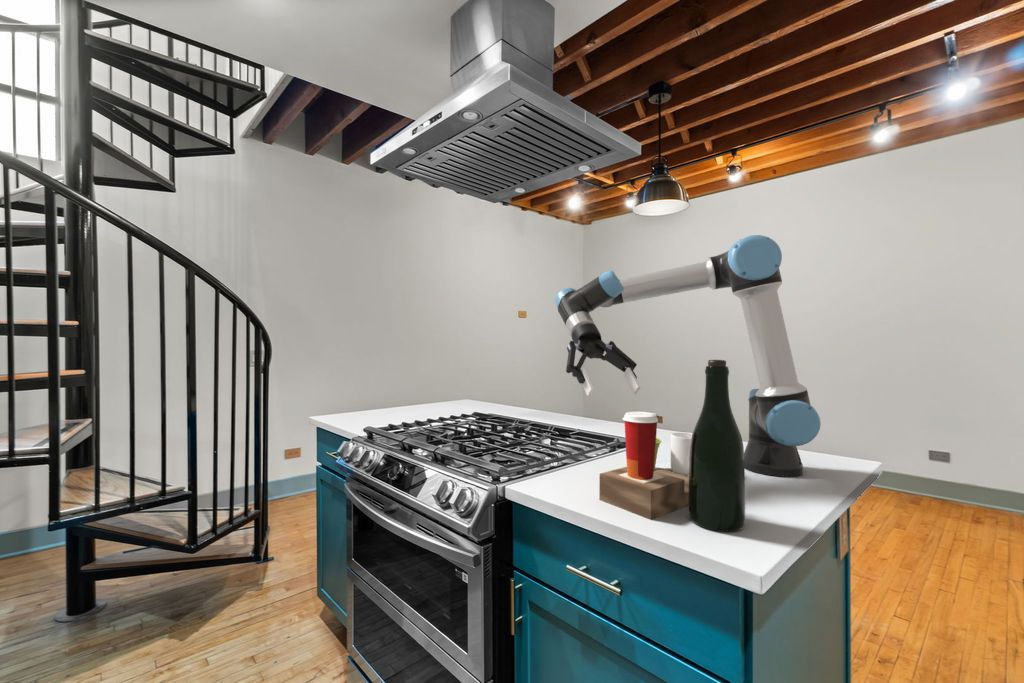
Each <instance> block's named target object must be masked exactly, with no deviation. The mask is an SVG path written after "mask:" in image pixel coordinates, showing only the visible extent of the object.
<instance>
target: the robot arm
mask: <svg viewBox="0 0 1024 683" xmlns="http://www.w3.org/2000/svg"><path fill="white" fill-rule="evenodd" d="M782 258H783V255H782V250H781V247H780V246H779V244H778V243H777V242H776V241H775V240H774V239H773V238H770V237H769V236H766V235H761V234H752V235H749V236H748V235H747V236H745V237H743V238H741V239H739V240H737V241H736V242H734V243H733V244H732V245H731V247H730V248H729V249H728V250H727V251H725V252H723V253H720V254H717V255H714V256H710V257H707V258H706V259H705V260H704V261H703V262H698V263H693V264H689V265H688V264H687V265H684V266H683V265H682V266H678V267H673V268H669V269H663V270H659V271H653V272H650V273H645V274H644V273H643V274H639V275H634V276H629V277H625V278H618V276H617V275H616V273H615V272H614V270H611V269H608V270H607V271H606V272H603V273H601V274H599V275H598V276H597V277H595V278H594V279H592V280H591V281H589V282H588V283H586V284H585V285H583V286H582V287H580V288H578V289H577V290H576V289H575V288H573V287H567V288H563V289H561V290H560V291H558V292H557V294H556V296H555V299H554V304H555V307H556V308H557V311H558V314H559V315H560V318H561V319H562V322H563V323H564V326H565V327H566V329H567V331H568V333H569V335H570V337H571V340H570V341H569V343H568V345H567V346H566V347H567V348H566V349H567V353H568V355H567V361H566V367H565V371H566V373H567V374H570V373H572V375H571V376H572V377H574V378H576V379H577V382H578V383H579V384H580V385H581V386H582V388H583V389H584V392H585V394H586V396H587V397H590V396H592V393H593V392H594V390H595V387H594V386H593V383H592V381H591V379H590V378H589V375H588V373H587V371H586V369H585V368H582V367H583V365H584V363H585V361H586V359H587V358H588V359H598V360H599V359H600V360H602V361H606V362H608V363H609V364H611V365H612V366H613V367H615V368H616V369H618V370H620V371H621V372H623V373H622V375H623V378H624V379H625V380H626V382H627V385H628V386H629V388H630V390H631V391H632V393H633V394H634V395H635V394H637V393H638V392H639V391H640V389H641V388H642V387H641V384H640V383H639V382H638V379H637V378H638V376H637V374H636V373H635V371H634V370H635V369H636V367H637V365H638V364H637V362H635V361H634V360H633V359H632V358H630V357H629V356H628V354H626V353H625V352H624V351H623V350H621V349H620V348H619V347H618V346H617V345H616V343H615V342H614V341H613V340H611V341H609V342H608V343H605V342H604V341H603V339H602V336H601V332H600V330H599V328H597V326H596V323H595V322H594V320H593V318H592V316H591V314H590V313H591V312H593V311H594V310H596V309H598V308H599V307H601V308H610V307H612V306H615V305H620V304H626V303H630V302H637V301H640V300H642V301H643V300H645V299H646V300H647V299H651V298H652V299H653V298H658V297H661V296H668V295H674V294H679V293H684V292H689V291H694V290H699V289H705V288H710V289H712V290H713V291H714V290H719V289H725V288H731V292H732V295H733V296H735V297H737V298H738V299H740V303H741V307H742V311H743V316H744V320H745V324H746V329H747V333H748V339H749V343H750V347H751V352H752V356H753V361H754V365H755V369H756V374H757V377H758V378H757V380H758V382H759V388H753V389H751V390H749V394H748V396H749V397H748V400H747V401H748V442H747V443H746V446H745V450H744V466H745V469H746V470H749V471H751V472H753V473H758V474H762V475H767V476H774V477H775V476H776V477H798V476H802V475H803V474H804V464H803V462H802V459H801V456H800V453H799V450H798V448H797V447H800V446H804V445H806V444H809V443H810V442H812V441H814V439H815V438H816V437H817V436H818V434H819V432H820V429H821V426H822V424H821V417H820V415H819V413H818V411H817V410H816V408H815V407H814V406H812V404H811V400H810V397H809V391H808V389H807V386H805V385H803V384H801V383H800V382H799V379H798V376H797V371H796V366H795V362H794V358H793V354H792V350H791V345H790V342H789V336H788V331H787V328H786V324H785V319H784V315H783V311H782V310H783V309H782V306H781V301H780V297H779V294H778V290H779V288H780V287H781V286H782V284H783V279H782V275H781V270H780V266H781V264H782V260H783V259H782ZM576 350H577V351H578V352H580V353H581V356H580V358H579V360H578V362H577V364H576V365H575V361H576V360H575V358H576Z"/></svg>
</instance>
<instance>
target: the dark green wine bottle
mask: <svg viewBox="0 0 1024 683" xmlns="http://www.w3.org/2000/svg"><path fill="white" fill-rule="evenodd" d="M704 374H705V386H704V387H705V388H704V389H705V390H704V397H703V398H704V399H703V404H702V407H701V411H700V414H699V416H698V419H697V421H696V424H695V425H694V428H693V431H692V432H691V433H692V438H691V443H690V457H689V491H688V506H687V507H688V508H687V509H688V512H687V513H688V517H689V519H690V520H691V522H693V524H696V525H697V526H699V527H702V528H705V529H708V530H711V531H712V530H713V531H715V532H716V531H718V532H736V531H740V530H741V529H743V528H744V526H745V522H746V487H745V486H746V480H745V479H746V477H745V476H746V475H745V472H746V471H745V469H746V468H745V466H744V452H745V450H744V443H743V438H742V435H741V432H740V429H739V427H738V424H737V422H736V419H735V417H734V414H733V410H732V408H731V407H732V406H731V401H730V392H729V391H730V389H729V376H730V370H729V366H727V361H726V360H723V359H709V360H708V361H707V365H706V366H705V369H704Z"/></svg>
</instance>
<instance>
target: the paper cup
mask: <svg viewBox="0 0 1024 683" xmlns="http://www.w3.org/2000/svg"><path fill="white" fill-rule="evenodd" d="M622 420H623V421H624V434H625V435H624V437H625V453H626V455H625V456H626V457H625V458H626V459H625V460H626V467H627V474H628V476H629V477H631V478H634V479H640V480H648V479H652V478H653V473H654V471H655V470H654V460H655V445H656V438H657V433H658V432H657V431H658V430H657V427H658V422H659V419H658V417H657V414H656V413H653V412H648V411H627V412H625V414H624V415H623V417H622Z"/></svg>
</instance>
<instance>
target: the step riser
mask: <svg viewBox="0 0 1024 683" xmlns="http://www.w3.org/2000/svg"><path fill="white" fill-rule="evenodd" d="M598 491H599V495H598V496H599V501H602V502H604V503H607V504H610V505H613V506H614V507H618V508H619V509H622V510H625V511H628V512H629V513H632V514H636V515H637V516H640V517H643V518H645V519H648V520H650V519H651V520H654V519H656V518H659V517H661V515H662V516H663V515H667V514H669V513H672V512H675V511H677V510H680V509H682V508H685V507H688V491H689V476H686V475H682V474H678V473H675V472H673V471H672V470H671V471H670V470H668V469H664V468H661V469H658V470H654V473H653V478H652V479H648V480H640V479H634V478H631V477H629V476H628V474H627V466H625V467H621V468H617V469H612V470H609V471H605V472H601V473H599V490H598ZM658 516H659V517H658ZM653 518H654V519H653Z"/></svg>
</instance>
